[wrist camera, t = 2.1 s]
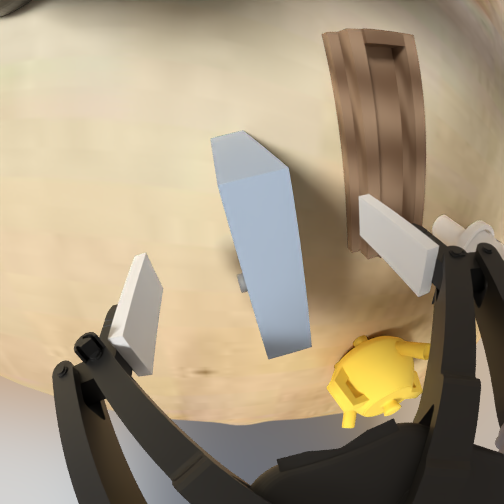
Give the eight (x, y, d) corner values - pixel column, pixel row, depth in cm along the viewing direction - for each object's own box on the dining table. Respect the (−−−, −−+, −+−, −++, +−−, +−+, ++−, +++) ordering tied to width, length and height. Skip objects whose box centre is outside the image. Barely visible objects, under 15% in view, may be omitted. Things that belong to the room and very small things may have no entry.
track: (321, 34, 16) (338, 27, 13) (399, 39, 16) (420, 36, 13) (347, 247, 26) (361, 264, 24) (409, 228, 27) (425, 242, 24)
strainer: (420, 260, 29) (496, 343, 17) (419, 211, 26) (518, 296, 13) (457, 237, 29) (532, 307, 16) (458, 191, 25) (551, 257, 13)
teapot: (354, 296, 30) (400, 370, 21) (433, 308, 36) (471, 358, 26) (285, 391, 39) (303, 452, 30) (366, 386, 45) (388, 432, 35)
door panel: (203, 140, 19) (201, 189, 9) (243, 130, 19) (288, 167, 9) (234, 250, 25) (258, 361, 14) (267, 241, 25) (311, 346, 15)
